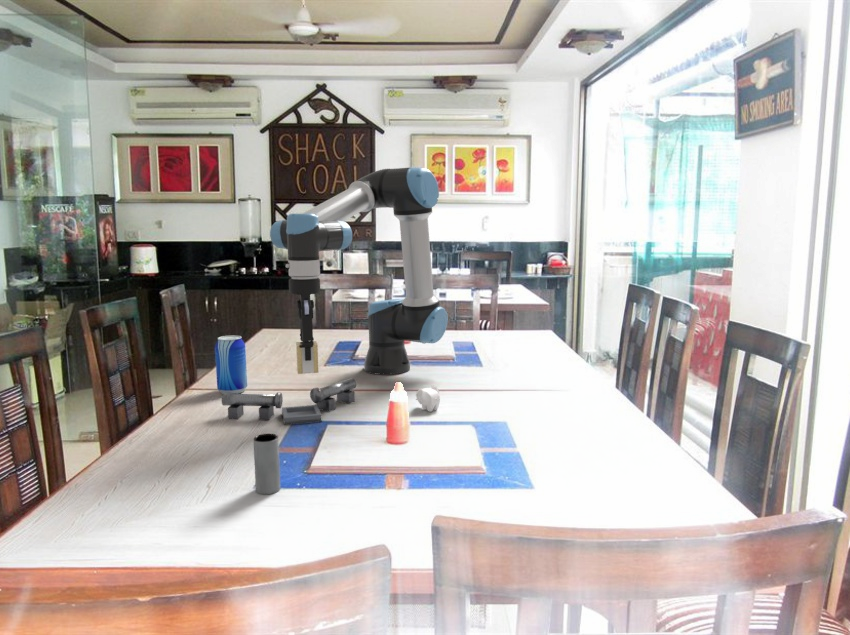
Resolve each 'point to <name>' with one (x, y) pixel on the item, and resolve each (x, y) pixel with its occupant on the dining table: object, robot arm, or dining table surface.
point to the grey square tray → (301, 414)
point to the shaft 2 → (340, 389)
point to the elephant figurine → (428, 398)
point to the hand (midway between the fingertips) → (307, 369)
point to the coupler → (299, 357)
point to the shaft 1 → (252, 404)
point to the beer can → (231, 364)
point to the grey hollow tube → (266, 463)
